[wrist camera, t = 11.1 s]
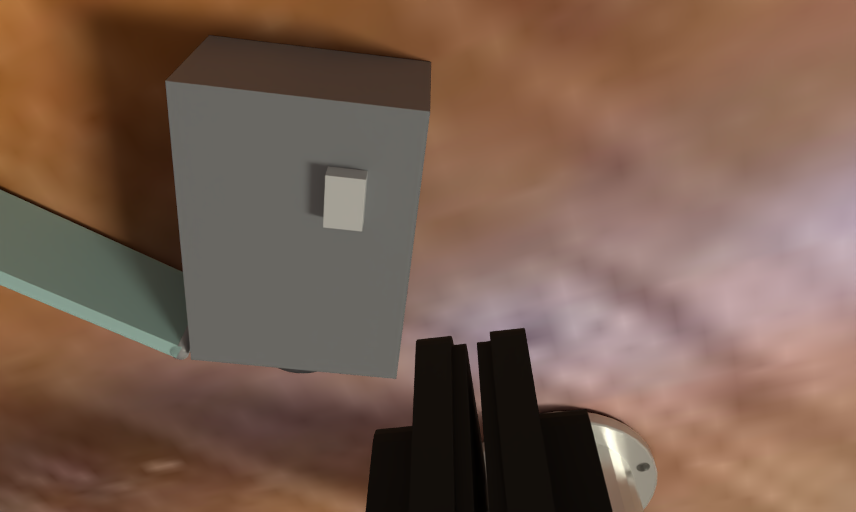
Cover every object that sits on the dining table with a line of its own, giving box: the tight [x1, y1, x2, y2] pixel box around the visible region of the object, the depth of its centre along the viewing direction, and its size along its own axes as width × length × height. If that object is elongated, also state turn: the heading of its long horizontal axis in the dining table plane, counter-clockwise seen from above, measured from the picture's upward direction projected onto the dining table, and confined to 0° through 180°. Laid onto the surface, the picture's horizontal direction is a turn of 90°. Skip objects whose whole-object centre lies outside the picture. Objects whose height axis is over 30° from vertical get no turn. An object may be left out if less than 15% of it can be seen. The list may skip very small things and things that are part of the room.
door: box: [0, 190, 190, 360], centre depth 34 cm, size 20×1×5 cm, turn 59°
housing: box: [165, 35, 431, 379], centre depth 33 cm, size 15×10×7 cm, turn 173°
